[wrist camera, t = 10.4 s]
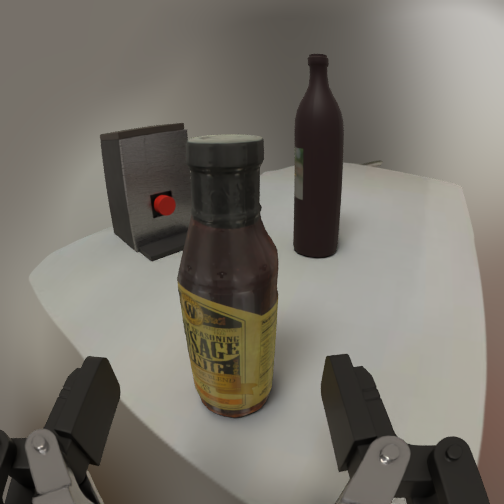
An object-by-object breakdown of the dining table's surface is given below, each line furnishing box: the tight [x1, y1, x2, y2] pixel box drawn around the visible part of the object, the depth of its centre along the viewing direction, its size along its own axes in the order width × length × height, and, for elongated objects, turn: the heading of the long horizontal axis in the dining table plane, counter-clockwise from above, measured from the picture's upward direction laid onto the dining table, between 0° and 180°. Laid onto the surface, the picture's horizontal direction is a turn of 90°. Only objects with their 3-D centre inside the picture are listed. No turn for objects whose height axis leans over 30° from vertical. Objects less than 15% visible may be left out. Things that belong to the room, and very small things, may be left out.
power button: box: [154, 195, 176, 216], centre depth 50 cm, size 2×3×3 cm, turn 132°
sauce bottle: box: [177, 134, 278, 418], centre depth 20 cm, size 6×6×20 cm
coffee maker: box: [100, 123, 192, 261], centre depth 52 cm, size 18×12×20 cm, turn 42°
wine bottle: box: [293, 54, 344, 257], centre depth 43 cm, size 7×7×30 cm
